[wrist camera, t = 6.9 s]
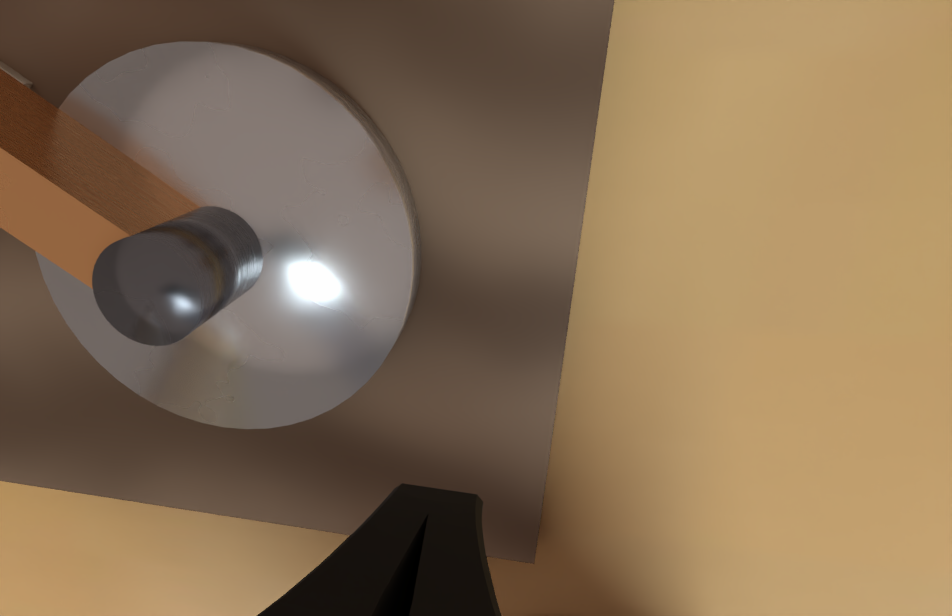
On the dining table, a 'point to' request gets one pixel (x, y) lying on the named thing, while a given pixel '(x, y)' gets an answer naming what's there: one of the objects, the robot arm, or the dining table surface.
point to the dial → (215, 228)
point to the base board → (440, 283)
